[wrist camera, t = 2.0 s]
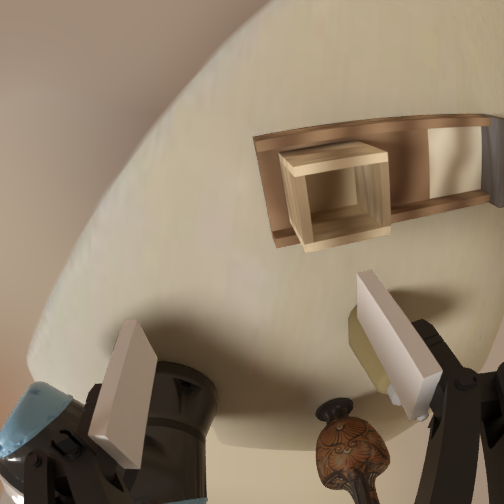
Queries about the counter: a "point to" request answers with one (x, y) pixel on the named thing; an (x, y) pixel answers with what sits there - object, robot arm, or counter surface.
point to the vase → (349, 452)
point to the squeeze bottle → (371, 360)
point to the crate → (337, 193)
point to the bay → (402, 163)
